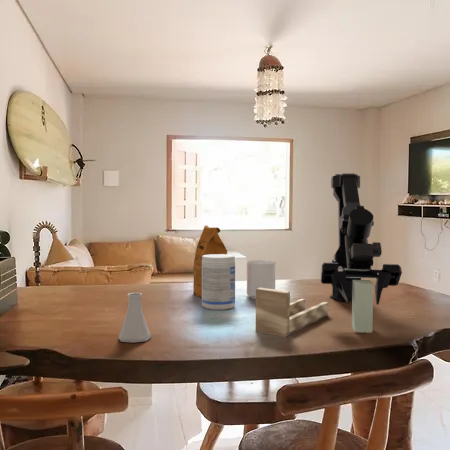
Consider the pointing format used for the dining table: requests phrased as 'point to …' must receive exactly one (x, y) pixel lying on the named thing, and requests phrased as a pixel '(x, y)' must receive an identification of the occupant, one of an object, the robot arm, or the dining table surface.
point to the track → (284, 312)
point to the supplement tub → (218, 281)
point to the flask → (134, 322)
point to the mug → (260, 276)
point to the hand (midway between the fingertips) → (363, 303)
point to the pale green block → (362, 306)
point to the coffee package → (205, 246)
